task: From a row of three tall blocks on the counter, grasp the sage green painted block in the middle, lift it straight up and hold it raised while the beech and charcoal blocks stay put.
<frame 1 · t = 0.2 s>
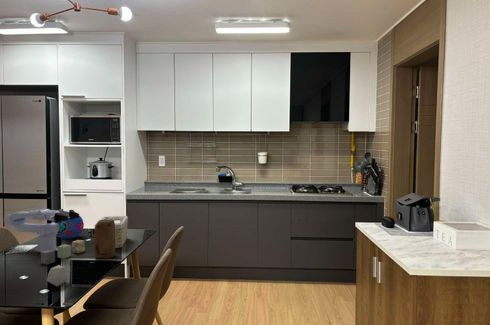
hand: (73, 216, 200), 21 cm above the table, tool horizontal, fingers open, 7 cm apart
block: (105, 257, 197), on the table
ceramic pot: (69, 238, 235), on the table
storage basket: (112, 243, 223), on the table
die: (58, 284, 160), on the table
beech block: (78, 251, 207), on the table
sage block: (64, 256, 198), on the table
charcoal block: (48, 262, 189), on the table
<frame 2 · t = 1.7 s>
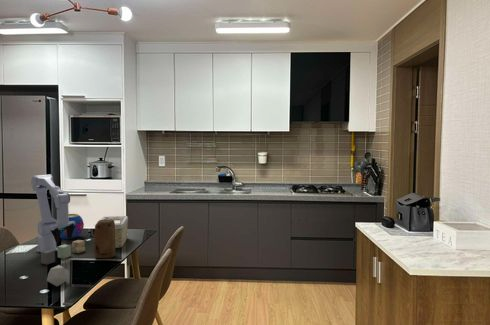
hand: (63, 240, 197), 9 cm above the table, tool pointing down, fingers open, 7 cm apart
nothing on the table moved.
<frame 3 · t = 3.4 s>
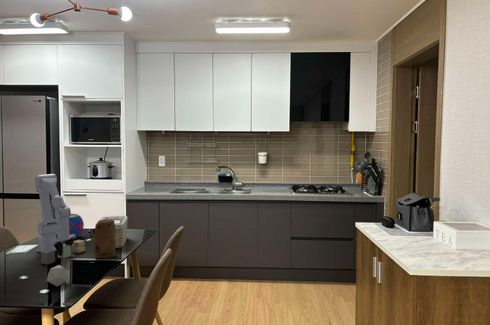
hand: (64, 254, 198), 1 cm above the table, tool pointing down, fingers closed on sage block, 4 cm apart
sage block: (64, 256, 198), on the table, touching gripper
everything else where it was.
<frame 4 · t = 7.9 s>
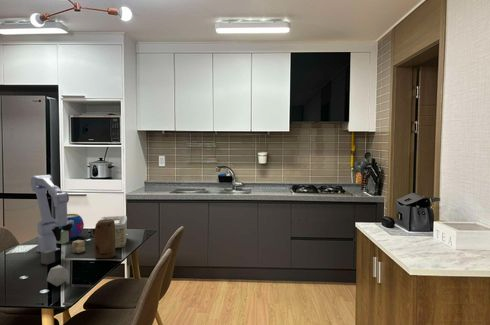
hand: (62, 239, 198), 9 cm above the table, tool pointing down, fingers closed on sage block, 4 cm apart
sage block: (62, 242, 198), point 8 cm above the table, touching gripper
at the end: the gripper is holding sage block; sage block point 7.9 cm above the table; beech block moved 0.1 cm from its start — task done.
